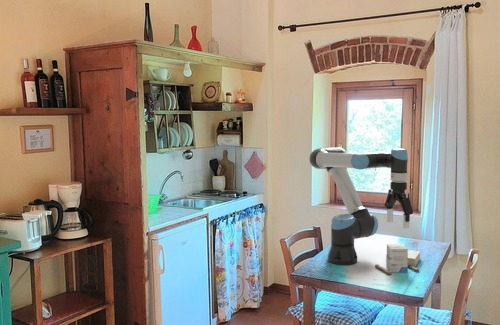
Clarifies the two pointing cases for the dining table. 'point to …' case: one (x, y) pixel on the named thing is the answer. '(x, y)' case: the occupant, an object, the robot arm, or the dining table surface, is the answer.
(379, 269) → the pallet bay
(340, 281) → the dining table surface
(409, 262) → the block
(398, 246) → the ink box
